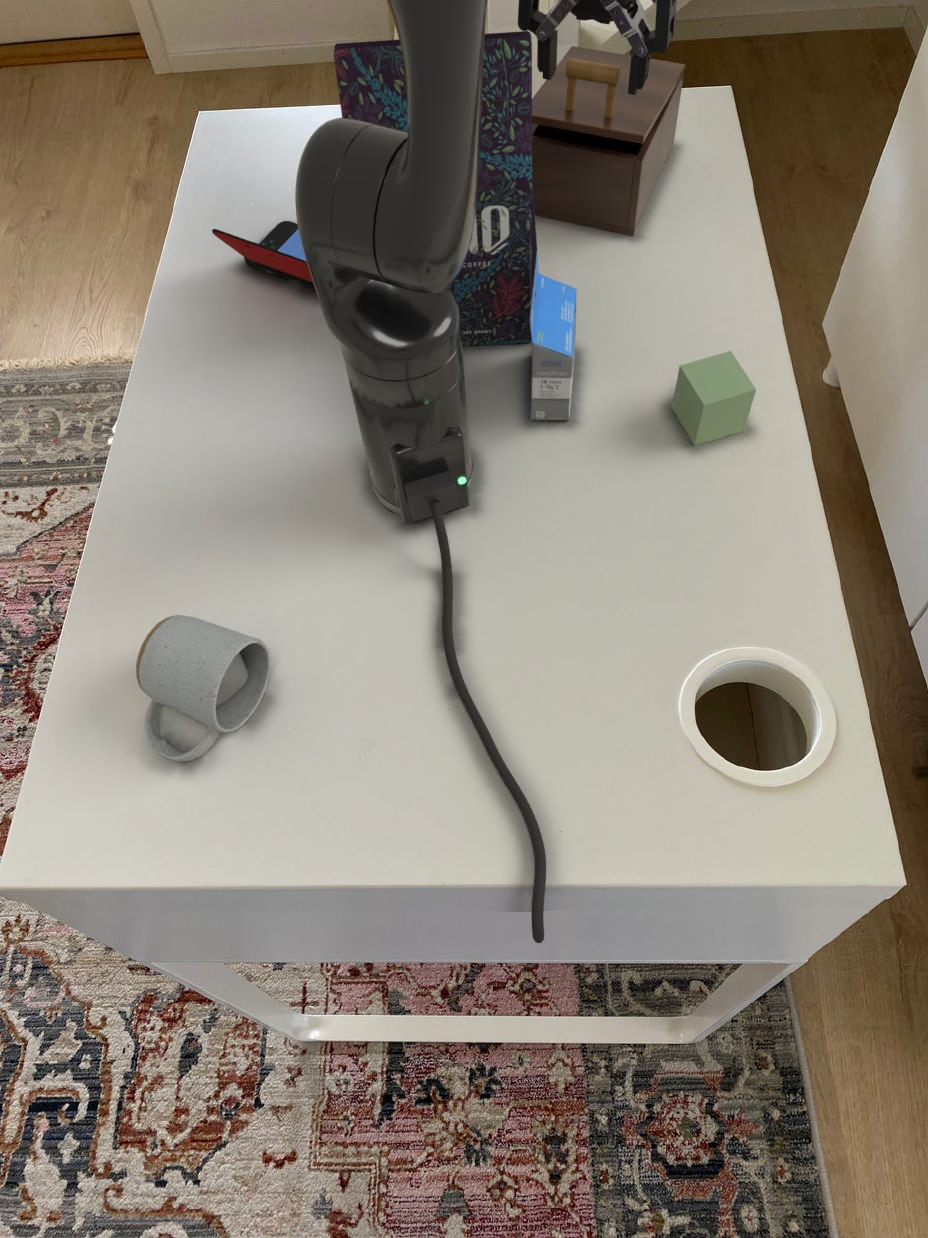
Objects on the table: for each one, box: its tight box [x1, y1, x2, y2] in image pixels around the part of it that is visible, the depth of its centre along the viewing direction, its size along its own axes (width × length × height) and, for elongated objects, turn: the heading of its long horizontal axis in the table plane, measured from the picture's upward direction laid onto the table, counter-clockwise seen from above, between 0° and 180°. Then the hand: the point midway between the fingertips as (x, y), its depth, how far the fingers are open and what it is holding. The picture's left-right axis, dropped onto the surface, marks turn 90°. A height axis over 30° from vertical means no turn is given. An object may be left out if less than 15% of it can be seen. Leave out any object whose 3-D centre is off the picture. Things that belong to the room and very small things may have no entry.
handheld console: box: [211, 220, 316, 292], centre depth 98 cm, size 12×11×7 cm
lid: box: [532, 45, 686, 143], centre depth 95 cm, size 16×13×5 cm
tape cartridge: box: [529, 250, 577, 422], centre depth 86 cm, size 9×4×12 cm, turn 174°
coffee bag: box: [333, 30, 538, 347], centre depth 84 cm, size 8×16×28 cm, turn 91°
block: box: [671, 350, 757, 447], centre depth 85 cm, size 5×5×6 cm
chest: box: [532, 72, 685, 237], centre depth 102 cm, size 16×13×9 cm
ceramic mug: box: [135, 614, 272, 762], centre depth 73 cm, size 11×8×8 cm
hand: (591, 82), depth 91 cm, fingers open, 8 cm apart
